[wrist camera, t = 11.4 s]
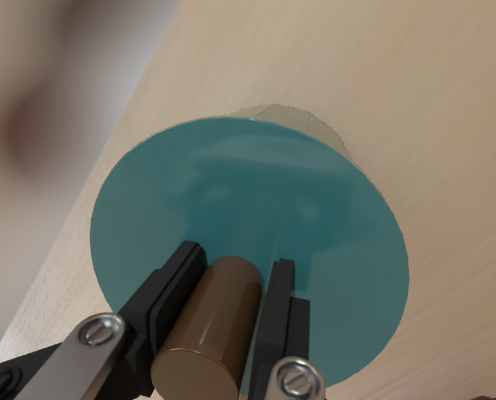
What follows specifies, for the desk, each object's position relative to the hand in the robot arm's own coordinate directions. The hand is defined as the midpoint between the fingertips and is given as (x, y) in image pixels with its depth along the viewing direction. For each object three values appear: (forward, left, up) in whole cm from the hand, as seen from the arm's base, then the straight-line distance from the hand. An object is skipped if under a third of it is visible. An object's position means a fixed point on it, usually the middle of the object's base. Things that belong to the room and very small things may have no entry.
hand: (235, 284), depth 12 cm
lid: (0, 0, -1) cm, 1 cm away
